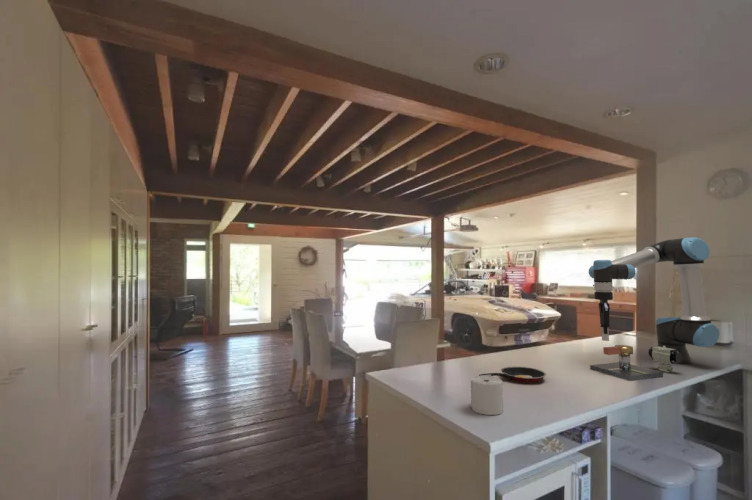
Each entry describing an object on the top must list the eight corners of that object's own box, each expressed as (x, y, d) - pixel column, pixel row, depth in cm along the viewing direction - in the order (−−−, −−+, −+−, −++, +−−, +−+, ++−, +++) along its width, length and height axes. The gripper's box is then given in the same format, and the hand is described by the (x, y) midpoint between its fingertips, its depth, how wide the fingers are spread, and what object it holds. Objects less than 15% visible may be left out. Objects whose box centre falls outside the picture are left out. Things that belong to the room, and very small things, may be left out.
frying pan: (556, 383, 152) (556, 374, 152) (492, 390, 143) (492, 380, 143) (526, 371, 170) (526, 363, 170) (467, 377, 161) (467, 369, 161)
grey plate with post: (621, 365, 178) (620, 347, 179) (663, 376, 159) (661, 356, 160) (590, 369, 172) (589, 350, 173) (629, 380, 153) (628, 359, 154)
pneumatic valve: (655, 367, 174) (653, 343, 175) (683, 374, 163) (681, 347, 164) (648, 369, 172) (646, 344, 173) (675, 375, 161) (673, 348, 162)
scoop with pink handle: (622, 350, 171) (622, 344, 171) (636, 353, 164) (636, 347, 164) (599, 352, 167) (599, 346, 167) (613, 356, 160) (612, 349, 160)
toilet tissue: (478, 416, 116) (477, 385, 117) (465, 403, 128) (464, 375, 129) (509, 414, 117) (508, 384, 118) (493, 402, 129) (492, 374, 130)
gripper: (592, 290, 179) (594, 337, 177) (596, 291, 167) (598, 342, 165) (609, 291, 176) (611, 338, 174) (615, 292, 164) (617, 343, 162)
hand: (605, 340), depth 170 cm, fingers closed
